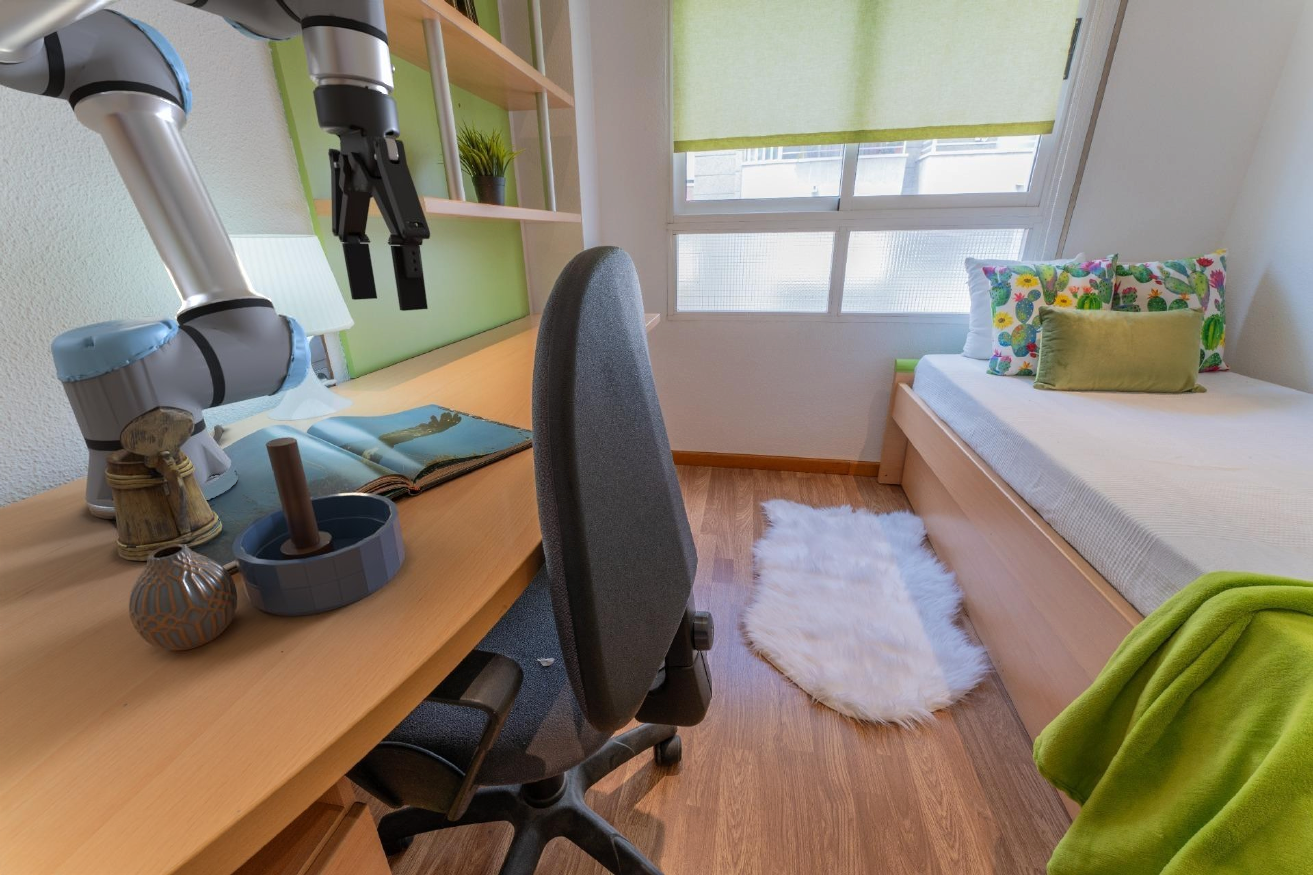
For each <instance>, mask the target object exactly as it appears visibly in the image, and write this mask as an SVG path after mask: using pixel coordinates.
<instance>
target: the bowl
mask: <svg viewBox="0 0 1313 875" xmlns="http://www.w3.org/2000/svg"><path fill="white" fill-rule="evenodd" d="M310 498H311V502H312V506H313V510H314V515H315V519H316V523H317V527H318V531H321V532H327V533H329V534H330V535H331V536H332V540H333V545H334V549H335V552H332V553H328V554H324V555H319V556H315V557H310V558H306V559H295V560H284V561H283V557H282V553H281V546H282V545H283V544H284V543H285V542H286V541H287V540H289V539H290V535H289V531H288V527H287V523H286V520H285V516H284V512H283V508H282V506H281V507H278V508H276V509H274V510H271V511H269V512H267V513H265V514H263V515H261V516H260V517H258V518H256V519H255V520H253V521H251V522H249V523H247V525H245V526H244V527H243V528H242V529H241V530H240V531H239V532H238V533H237V534H236V535H235V536H234V539H233V542H232V545H231V552H232V555H233V557H234V558H233V559H234V561H235V565H236V568H237V571H238V574H239V577H240V580H241V583H242V587H243V590H244V593H245V596H246V597H247V599H248V602H249V603H250V604H251V605H252V606H254V607H255V608H258V609H260V610H261V611H263V612H266V613H268V614H273V615H276V616H283V617H284V616H285V617H286V616H288V617H296V616H309V615H315V614H320V613H326V612H329V611H332V610H336V609H339V608H342V607H345V606H348V605H351V604H353V603H356V602H358V601H360V600H363V599H364V598H366V597H368V596H370V595H372V594H374V593H375V592H377V591H378V590H380V589H382V587H384V586H385V585H387V584H388V583H389V582H390V581H391V580H392V579H393V578H394V577H395V575H396V574H397V573H398V572H399V570H400V569H401V567H402V565H403V562H404V561H405V559H406V550H405V545H404V539H403V532H402V527H401V526H402V525H401V521H400V517H399V516H400V515H399V511H398V506H397V503H395V502H394V501H392V500H391V499H390V498H389V497H387V496H383V495H379V494H375V493H366V492H342V493H332V494H326V495H321V496H316V497H310Z"/></svg>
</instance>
